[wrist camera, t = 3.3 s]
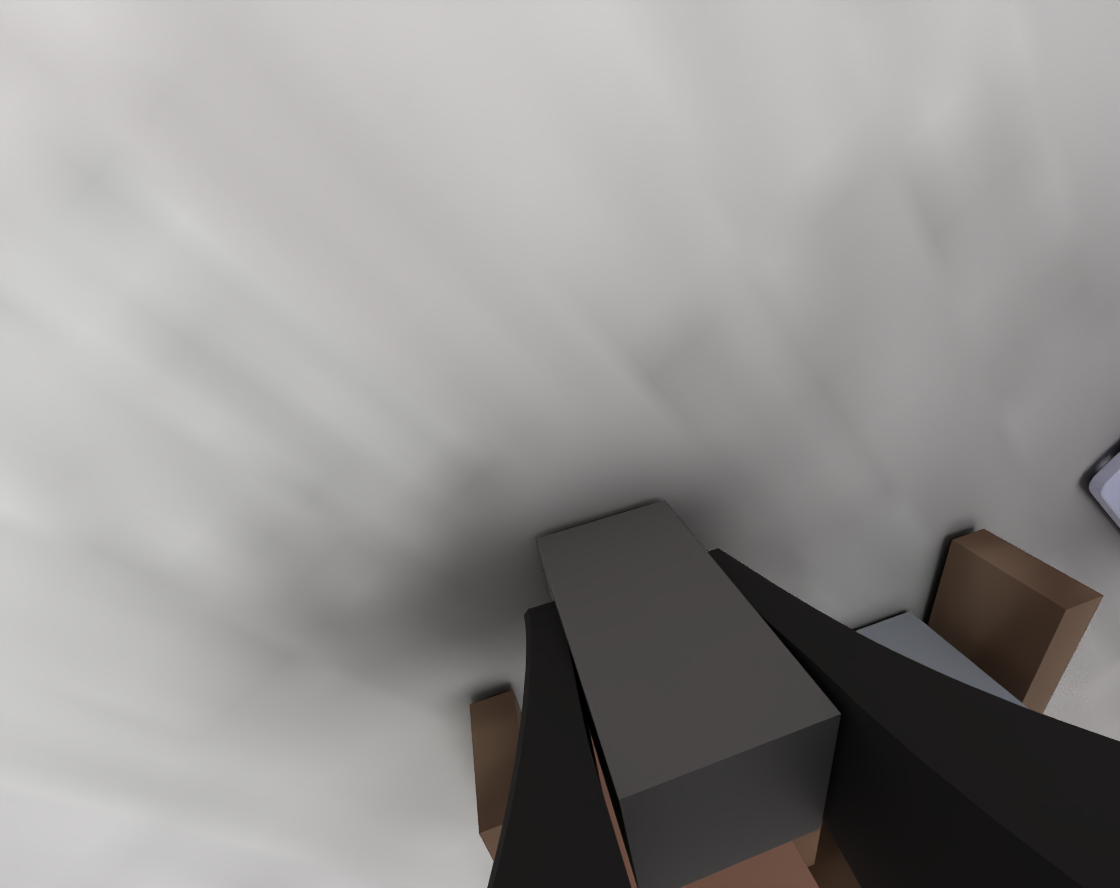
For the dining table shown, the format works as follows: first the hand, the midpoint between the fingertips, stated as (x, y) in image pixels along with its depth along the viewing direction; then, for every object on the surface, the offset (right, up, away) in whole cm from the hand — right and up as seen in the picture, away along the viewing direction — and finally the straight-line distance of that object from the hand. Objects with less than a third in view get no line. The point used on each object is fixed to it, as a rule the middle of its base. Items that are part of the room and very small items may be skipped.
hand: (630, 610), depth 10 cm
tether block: (0, -4, +4) cm, 5 cm away
